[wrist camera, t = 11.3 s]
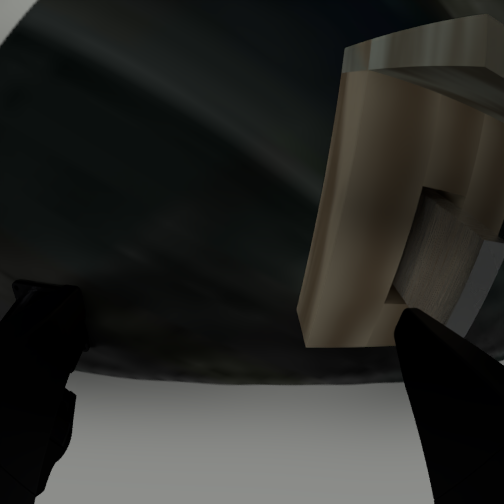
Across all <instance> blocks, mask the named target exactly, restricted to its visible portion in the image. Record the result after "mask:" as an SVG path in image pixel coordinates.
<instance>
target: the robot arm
mask: <svg viewBox="0 0 504 504" xmlns="http://www.w3.org/2000/svg"><path fill="white" fill-rule="evenodd" d="M12 288H13V291H14V294H15V298H16V302H15V303H14V304H13V305H12V307H11V308H10V309H9V311H8V312H7V313H6V315H5V316H4V317H3V319H2V320H1V321H0V504H34V502H35V497H36V496H38V495H39V494H41V493H42V492H43V491H44V489H45V486H46V483H47V480H48V477H49V475H50V472H51V470H52V468H53V466H54V464H55V463H56V462H57V461H58V460H59V459H60V458H61V457H62V456H63V455H64V453H65V451H66V450H67V447H68V445H69V443H70V440H71V436H72V427H73V417H74V409H75V402H76V395H75V394H74V393H73V392H71V391H68V390H67V389H66V388H65V386H66V383H67V380H68V377H69V374H70V373H72V372H73V371H74V370H75V367H76V365H77V363H78V360H79V358H80V356H81V354H82V351H84V352H87V351H88V350H89V348H90V345H89V341H88V338H89V337H88V334H87V330H86V326H85V322H84V321H85V316H86V313H85V307H84V303H83V298H82V293H81V290H80V288H79V287H78V286H72V285H64V286H62V287H57V286H50V285H43V284H37V283H30V282H24V281H18V280H16V281H15V282H14V283H13V284H12ZM394 340H395V344H396V348H397V353H398V357H399V362H400V367H401V371H402V376H403V380H404V383H405V387H406V390H407V394H408V397H409V400H410V404H411V407H412V411H413V414H414V418H415V421H416V425H417V429H418V433H419V436H420V440H421V444H422V448H423V452H424V456H425V460H426V465H427V469H428V474H429V478H430V483H431V487H432V492H433V498H434V504H504V365H502V364H501V363H499V362H498V361H497V360H495V359H494V358H492V357H491V356H489V355H488V354H486V353H485V352H484V351H482V350H481V349H479V348H478V347H476V346H475V345H473V344H472V343H470V342H469V341H467V340H466V339H464V338H463V337H461V336H460V335H458V334H457V333H455V332H454V331H452V330H451V329H449V328H448V327H446V326H445V325H443V324H442V323H440V322H439V321H437V320H436V319H434V318H433V317H431V316H429V315H428V314H426V313H425V312H423V311H422V310H420V309H418V308H405V309H404V310H403V312H402V314H401V316H400V318H399V321H398V323H397V325H396V327H395V330H394Z"/></svg>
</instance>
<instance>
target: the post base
mask: <svg viewBox="0 0 504 504" xmlns="http://www.w3.org/2000/svg"><path fill="white" fill-rule="evenodd" d="M423 186H424V187H428V188H431V189H432V190H434V191H435V192H437V193H438V194H440V195H441V196H443V197H444V198H446V199H447V200H449V201H450V202H452V203H453V204H455V205H456V206H458V207H459V208H461V209H462V210H464V211H465V212H466V213H468V214H469V215H471V216H472V217H474V218H475V219H476V220H478V221H479V222H480V223H482V224H483V225H484V226H486V227H487V228H488V229H490V230H491V231H492V232H494V233H495V234H496V235H498V234H499V231H500V228H501V225H502V223H503V220H504V25H503V24H502V23H500V22H499V21H497V20H496V19H494V18H493V17H491V16H490V15H488V14H483V15H476V16H469V17H463V18H457V19H452V20H446V21H441V22H437V23H432V24H427V25H423V26H419V27H415V28H411V29H407V30H403V31H399V32H395V33H392V34H388V35H385V36H381V37H378V38H375V39H371V40H368V41H365V42H362V43H359V44H356V45H353V46H350V47H347V48H345V51H344V59H343V67H342V74H341V81H340V88H339V95H338V102H337V109H336V115H335V121H334V127H333V134H332V140H331V145H330V151H329V157H328V163H327V168H326V174H325V179H324V184H323V190H322V195H321V200H320V205H319V210H318V215H317V220H316V225H315V230H314V234H313V239H312V244H311V248H310V253H309V258H308V262H307V267H306V271H305V275H304V280H303V284H302V288H301V293H300V297H299V301H298V305H297V313H298V317H299V321H300V325H301V329H302V334H303V338H304V342H305V346H306V347H307V348H336V347H377V346H396V344H395V340H394V330H395V327H396V325H397V323H398V321H399V318H400V316H401V314H402V312H403V310H404V309H405V308H409V307H408V306H407V304H406V303H405V301H404V300H403V298H402V297H401V295H400V294H399V292H398V291H397V289H396V288H395V286H394V285H393V283H392V282H393V279H394V276H395V274H396V271H397V268H398V265H399V262H400V259H401V257H402V254H403V251H404V248H405V245H406V241H407V238H408V235H409V232H410V229H411V226H412V222H413V219H414V216H415V212H416V209H417V205H418V201H419V198H420V194H421V190H422V187H423Z"/></svg>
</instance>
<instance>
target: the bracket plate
mask: <svg viewBox="0 0 504 504" xmlns="http://www.w3.org/2000/svg"><path fill="white" fill-rule="evenodd" d="M503 259H504V240H503V239H502V238H500V237H499V236H498V235H496V234H495V233H494V232H492V231H491V230H490V229H488V228H487V227H486V226H484V225H483V224H482V223H480V222H479V221H478V220H476V219H475V218H474V217H472V216H471V215H469V214H468V213H466V212H465V211H464V210H462V209H461V208H459V207H458V206H456V205H455V204H453V203H452V202H450V201H449V200H447V199H446V198H444V197H443V196H441V195H440V194H438V193H437V192H435V191H434V190H432V189H431V188H428V187H424V186H423V187H422V190H421V194H420V198H419V201H418V205H417V209H416V212H415V216H414V219H413V222H412V226H411V229H410V232H409V235H408V238H407V241H406V245H405V248H404V251H403V254H402V257H401V259H400V262H399V265H398V268H397V271H396V274H395V276H394V279H393V282H392V283H393V285H394V286H395V288H396V289H397V291H398V292H399V294H400V295H401V297H402V298H403V300H404V301H405V303H406V304H407V306H408V307H409V308H418V309H420V310H422V311H423V312H425V313H426V314H428V315H429V316H431V317H433V318H434V319H436V320H437V321H439V322H440V323H442V324H443V325H445V326H446V327H448V328H449V329H451V330H452V331H454V332H455V333H457V334H458V335H460V336H461V337H463V338H464V337H465V335H466V334H467V332H468V330H469V328H470V327H471V325H472V323H473V321H474V319H475V317H476V316H477V314H478V312H479V310H480V308H481V306H482V304H483V302H484V300H485V298H486V296H487V294H488V292H489V290H490V288H491V286H492V284H493V282H494V279H495V277H496V275H497V273H498V271H499V268H500V266H501V264H502V261H503Z"/></svg>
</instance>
